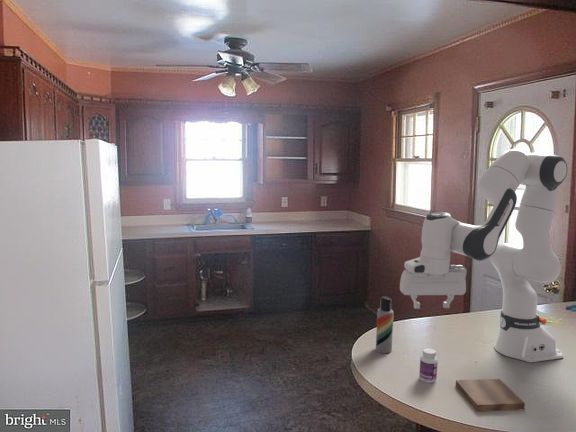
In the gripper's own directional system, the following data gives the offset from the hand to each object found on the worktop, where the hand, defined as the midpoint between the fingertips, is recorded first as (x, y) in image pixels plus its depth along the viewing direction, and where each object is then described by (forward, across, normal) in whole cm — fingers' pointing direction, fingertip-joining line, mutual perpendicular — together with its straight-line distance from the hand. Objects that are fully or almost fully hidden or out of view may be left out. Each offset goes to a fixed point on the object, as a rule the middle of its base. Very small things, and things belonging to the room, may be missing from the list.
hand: (431, 307), depth 149 cm
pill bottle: (+24, 0, 0) cm, 24 cm away
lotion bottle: (+24, +8, -22) cm, 33 cm away
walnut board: (+24, -14, +12) cm, 30 cm away
